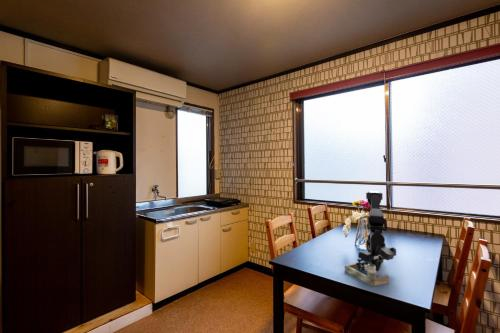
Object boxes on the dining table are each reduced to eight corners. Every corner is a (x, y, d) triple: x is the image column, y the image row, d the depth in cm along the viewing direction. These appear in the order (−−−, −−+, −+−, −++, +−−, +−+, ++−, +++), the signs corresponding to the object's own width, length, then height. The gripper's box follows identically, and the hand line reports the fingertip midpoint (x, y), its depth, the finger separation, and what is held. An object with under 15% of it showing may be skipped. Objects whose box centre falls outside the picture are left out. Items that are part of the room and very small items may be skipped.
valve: (381, 280, 114) (368, 269, 126) (380, 266, 114) (368, 256, 126) (367, 281, 114) (356, 269, 126) (366, 267, 114) (355, 257, 126)
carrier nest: (344, 271, 125) (344, 265, 125) (359, 267, 129) (359, 262, 129) (373, 286, 109) (373, 279, 109) (388, 282, 113) (388, 275, 113)
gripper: (376, 247, 110) (377, 281, 110) (404, 242, 118) (405, 274, 117) (357, 240, 121) (357, 271, 121) (384, 236, 128) (384, 265, 128)
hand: (376, 271), depth 121 cm, fingers closed
